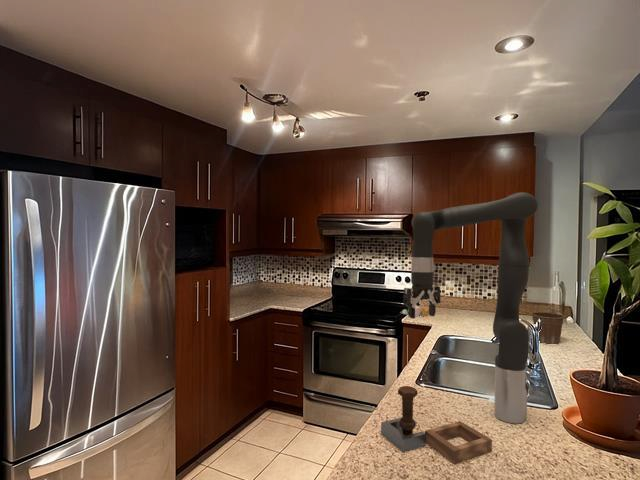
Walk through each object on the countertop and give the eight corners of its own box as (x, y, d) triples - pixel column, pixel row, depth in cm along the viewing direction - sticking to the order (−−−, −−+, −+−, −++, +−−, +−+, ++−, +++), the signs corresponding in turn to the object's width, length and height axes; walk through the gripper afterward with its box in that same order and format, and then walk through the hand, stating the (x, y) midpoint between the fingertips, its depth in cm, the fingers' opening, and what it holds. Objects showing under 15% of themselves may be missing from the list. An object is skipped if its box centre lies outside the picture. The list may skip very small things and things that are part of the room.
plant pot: (550, 338, 229) (550, 311, 229) (571, 346, 213) (571, 317, 213) (524, 339, 227) (525, 312, 226) (544, 347, 211) (544, 318, 210)
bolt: (415, 434, 120) (416, 386, 120) (418, 443, 115) (418, 392, 115) (396, 433, 121) (397, 385, 121) (398, 442, 116) (398, 392, 116)
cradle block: (402, 428, 124) (402, 417, 124) (425, 445, 114) (425, 433, 114) (381, 433, 121) (381, 422, 121) (403, 452, 111) (403, 439, 111)
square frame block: (460, 432, 122) (460, 420, 122) (491, 451, 111) (491, 439, 111) (424, 442, 116) (424, 430, 116) (454, 464, 105) (454, 451, 105)
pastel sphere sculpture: (437, 315, 294) (437, 303, 294) (426, 321, 275) (426, 308, 275) (406, 311, 308) (406, 300, 308) (393, 317, 289) (393, 304, 289)
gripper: (431, 268, 141) (430, 313, 141) (398, 270, 135) (398, 316, 135) (446, 270, 134) (445, 317, 134) (412, 272, 128) (412, 321, 128)
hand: (422, 317), depth 135 cm, fingers open, 8 cm apart
